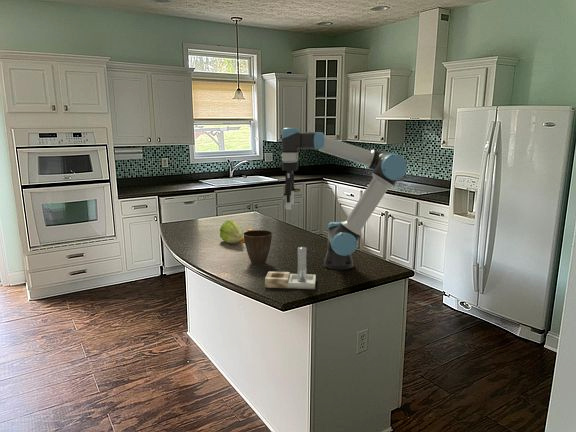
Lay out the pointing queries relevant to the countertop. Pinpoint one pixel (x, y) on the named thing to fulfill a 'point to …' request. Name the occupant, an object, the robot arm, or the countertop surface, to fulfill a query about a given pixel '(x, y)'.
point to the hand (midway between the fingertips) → (289, 206)
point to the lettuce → (231, 232)
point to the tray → (299, 285)
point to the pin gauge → (302, 264)
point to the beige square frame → (277, 279)
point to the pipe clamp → (243, 237)
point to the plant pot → (258, 245)
